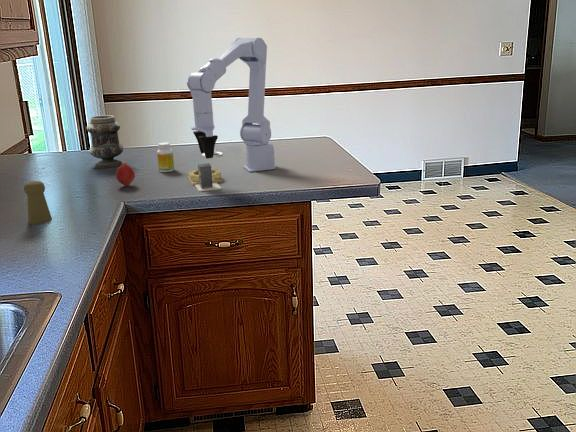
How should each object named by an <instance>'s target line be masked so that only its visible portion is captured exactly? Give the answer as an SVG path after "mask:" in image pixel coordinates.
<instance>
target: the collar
mask: <svg viewBox="0 0 576 432" xmlns="http://www.w3.org/2000/svg"><path fill="white" fill-rule="evenodd" d="M211 171H212V181H215V180H217V179H219V178H222V172H221V171H220V169H217V168H211ZM188 176H189V179H190V180H191V181H196V182H199V173H198V168H197V169H194V170H191V171H190V172H188ZM189 179H188V180H189Z"/></svg>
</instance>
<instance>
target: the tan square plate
mask: <svg viewBox="0 0 576 432" xmlns="http://www.w3.org/2000/svg"><path fill="white" fill-rule="evenodd" d="M187 180H188V182H190V184H191V185H192V186H195V185H199V182H196V181H191V180H190V179H189V175H187ZM216 182H217V184H219V183H224V178H222V177H221V178H219V179H217V180H215V181H212V183H216Z"/></svg>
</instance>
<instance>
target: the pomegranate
mask: <svg viewBox="0 0 576 432" xmlns="http://www.w3.org/2000/svg"><path fill="white" fill-rule="evenodd" d="M135 174H136V173H135V171H134V168H132V167H131V166H130V165H128V164H127V162H126V161H124V162H122V164H121V165H119V167H118V168H117V169H116V172H115V178H116V180H117V182H118V183H119V184H121V185H123V186H125V187H129V186H130V184H131V183H132V182H133V181H134V180H135V178H136V175H135Z"/></svg>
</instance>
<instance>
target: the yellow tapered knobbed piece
mask: <svg viewBox="0 0 576 432" xmlns="http://www.w3.org/2000/svg"><path fill="white" fill-rule="evenodd" d="M45 190H46V186H45V183H43V182H42V181H39V180H32V181H28V182H26V183H25V184H24V185H23V191H24V194H26V196H27V197H26V198H27V218H28V219H27V222H28V224H29V225H34V226H35V225H43V224H47V223H49V222H52V220H53V217H52V215H51V212H50V208H49V205H48V202H47V200H46V196H45V193H44V192H45Z"/></svg>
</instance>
